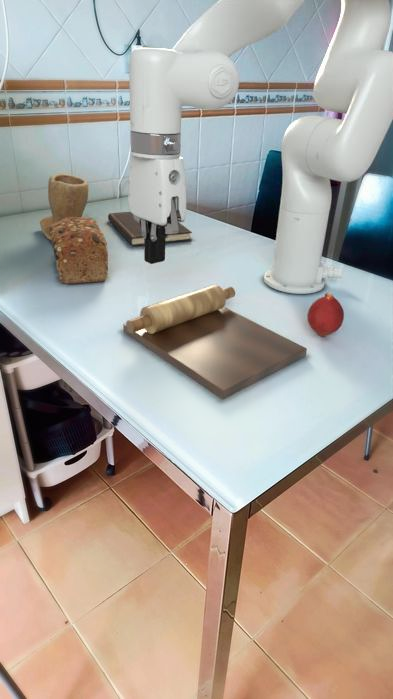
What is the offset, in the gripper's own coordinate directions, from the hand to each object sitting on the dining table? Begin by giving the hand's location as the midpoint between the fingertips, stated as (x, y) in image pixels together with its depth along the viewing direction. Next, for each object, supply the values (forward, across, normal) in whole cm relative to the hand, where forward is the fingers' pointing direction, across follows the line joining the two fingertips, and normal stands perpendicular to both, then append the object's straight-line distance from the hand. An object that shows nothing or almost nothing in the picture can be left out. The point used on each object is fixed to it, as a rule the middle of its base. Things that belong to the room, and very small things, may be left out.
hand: (154, 261), depth 81 cm
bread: (+10, +27, 0) cm, 29 cm away
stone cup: (+10, +49, -9) cm, 51 cm away
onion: (+10, -24, -17) cm, 31 cm away
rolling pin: (+8, -8, -1) cm, 11 cm away
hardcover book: (+10, +41, -28) cm, 51 cm away
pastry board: (+10, -14, -1) cm, 18 cm away
